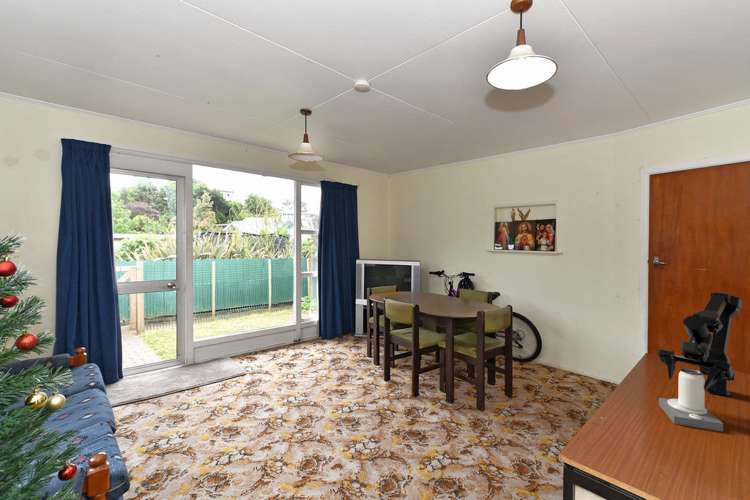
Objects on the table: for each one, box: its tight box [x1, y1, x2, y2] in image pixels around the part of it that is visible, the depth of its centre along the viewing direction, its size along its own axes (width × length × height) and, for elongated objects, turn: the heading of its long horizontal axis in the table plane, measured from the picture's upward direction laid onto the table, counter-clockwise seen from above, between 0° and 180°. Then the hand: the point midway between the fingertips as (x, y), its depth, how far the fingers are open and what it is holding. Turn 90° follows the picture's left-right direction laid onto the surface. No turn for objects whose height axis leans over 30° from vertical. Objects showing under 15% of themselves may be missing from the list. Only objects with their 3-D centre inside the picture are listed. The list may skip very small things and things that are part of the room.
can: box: [677, 368, 706, 411], centre depth 116 cm, size 6×6×12 cm
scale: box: [658, 397, 724, 433], centre depth 115 cm, size 14×12×3 cm
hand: (686, 383), depth 116 cm, fingers open, 9 cm apart
